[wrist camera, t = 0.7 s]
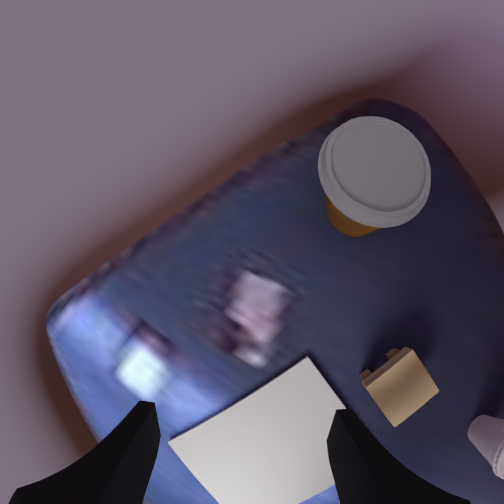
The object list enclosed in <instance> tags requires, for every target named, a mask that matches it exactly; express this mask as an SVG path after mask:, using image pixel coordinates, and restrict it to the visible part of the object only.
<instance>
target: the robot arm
mask: <svg viewBox="0 0 504 504" xmlns="http://www.w3.org/2000/svg"><path fill="white" fill-rule="evenodd" d="M160 436H161V434H160V429H159V424H158V418H157V413H156V408H155V403H153V402H146V401H139V402H138V403H137V404H136V405H135V406H134V408H133V409H132V410H131V411H130V412H129V413H128V414H127V416H126V417H125V418H124V419H123V420H122V421H121V422H120V423H119V424H118V425H117V426H116V427H115V428H114V429H113V431H112V432H111V433H110V434H109V435H108V436H106V437H105V438H104V439H103V440H102V441H101V442H100V443H99V444H98V445H97V446H95V447H94V448H93V449H92V450H91V451H89V452H88V453H87V454H86V455H84V456H83V457H82V458H80V459H79V460H77V461H76V462H74V463H73V464H71V465H69V466H68V467H66V468H65V469H63V470H61V471H59V472H57V473H55V474H53V475H51V476H49V477H47V478H45V479H43V480H40V481H38V482H35V483H32V484H30V485H26V486H23V487H20V488H17V489H16V491H15V492H14V494H13V496H12V498H11V500H10V502H9V504H142V502H143V498H144V495H145V492H146V488H147V485H148V482H149V479H150V476H151V473H152V470H153V467H154V464H155V460H156V457H157V453H158V448H159V442H160ZM326 442H327V450H328V457H329V463H330V467H331V471H332V474H333V478H334V482H335V485H336V489H337V493H338V496H339V500H340V504H471V503H470V501H469V500H466V499H463V498H461V497H458V496H455V495H452V494H450V493H448V492H446V491H444V490H441V489H439V488H437V487H436V486H434V485H432V484H430V483H429V482H427V481H425V480H424V479H422V478H420V477H419V476H417V475H416V474H414V473H413V472H412V471H410V470H409V469H408V468H406V467H405V466H404V465H403V464H401V463H400V462H399V461H398V460H397V459H396V458H395V457H393V456H392V455H391V454H390V453H389V452H388V451H387V450H386V449H385V448H384V447H383V446H382V445H381V444H380V442H379V441H378V440H377V439H376V438H375V437H374V436H373V435H372V434H371V433H370V431H369V430H368V429H367V428H366V427H365V425H364V424H363V423H362V422H361V421H360V419H359V418H358V417H357V416H356V414H355V413H354V412H353V411H352V410H351V409H336V412H335V415H334V418H333V422H332V425H331V428H330V431H329V435H328V438H327V441H326Z"/></svg>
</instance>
